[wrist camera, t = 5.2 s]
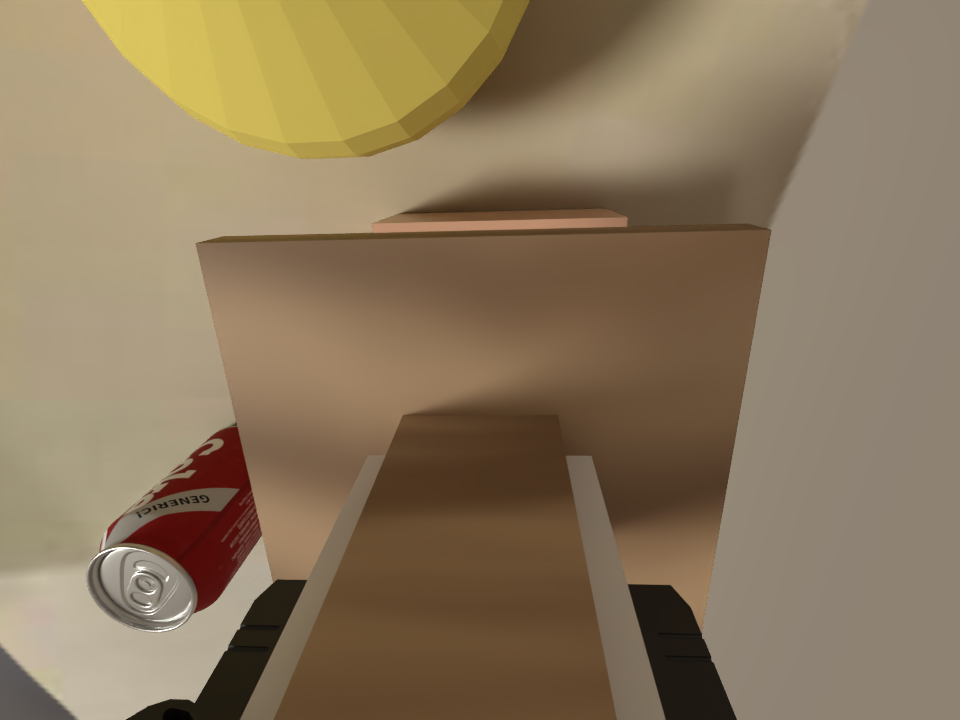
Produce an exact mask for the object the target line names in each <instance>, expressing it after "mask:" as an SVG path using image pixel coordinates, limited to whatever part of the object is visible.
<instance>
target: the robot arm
mask: <svg viewBox="0 0 960 720" xmlns="http://www.w3.org/2000/svg"><path fill="white" fill-rule="evenodd" d="M385 456H386V455H368V456H367V458H366V460H365V463H364V465H363V467H362V469H361V471H360V473H359V475H358V477H357V479H356V481H355V483H354V485H353V487H352V489H351V491H350V494H349V496H348V498H347V500H346V502H345V504H344V506H343V508H342V510H341V512H340V514H339V516H338V518H337V520H336V522H335V524H334V527H333V529H332V531H331V533H330V535H329V537H328V539H327V541H326V543H325V545H324V547H323V549H322V551H321V553H320V555H319V558H318V560H317V562H316V564H315V566H314V568H313V570H312V572H311V574H310V576H309V578H308V580H283V579H277V580H276V581H275V582H274V583H273V584H272V585H271V586H270V587H268V588H267V589H266V590H265V591H264V592H263V593H262V594H261V595H260V596H259V597H258V598H257V599H256V600H255V601H254V602H253V604H252V606H251V608H250V609H249V611H248V613H247V614H246V616H245V618H244V620H243V621H242V623H241V627H240V630H237V632H236V633H235V635H234V637H233V639H232V640H231V642H230V644H229V645H228V650H227V651H225V652H224V654H223V656H222V657H221V659H220V661H219V663H218V664H217V666H216V668H215V669H214V671H213V673H212V675H211V676H210V678H209V680H208V681H207V683H206V685H205V687H204V688H203V690H202V692H201V693H200V695H199V697H198V699H197V700H196V702H195V703H193V702H191V701H190V700H177V699H170V700H166V701H163V702H160V703H157V704H154V705H151V706H148V707H146V708H145V709H143V710H141V711H140V712H138V713H136V714H135V715H133V716H131V717H130V718H128V719H126V720H274V718H275V715H276V713H277V711H278V708H279V706H280V704H281V701H282V699H283V697H284V694H285V692H286V689H287V687H288V685H289V682H290V680H291V678H292V675H293V673H294V671H295V668H296V666H297V664H298V661H299V659H300V656H301V654H302V652H303V649H304V647H305V645H306V642H307V640H308V638H309V635H310V633H311V630H312V628H313V626H314V623H315V621H316V619H317V616H318V614H319V612H320V609H321V607H322V605H323V602H324V600H325V597H326V595H327V593H328V590H329V588H330V586H331V583H332V581H333V579H334V576H335V574H336V572H337V569H338V567H339V564H340V562H341V560H342V557H343V555H344V553H345V550H346V548H347V546H348V543H349V541H350V538H351V536H352V534H353V531H354V529H355V527H356V524H357V522H358V520H359V517H360V515H361V513H362V510H363V508H364V505H365V503H366V501H367V498H368V496H369V494H370V491H371V489H372V487H373V484H374V482H375V479H376V477H377V475H378V472H379V470H380V468H381V465H382V463H383V461H384V458H385ZM566 460H567V465H568V470H569V475H570V481H571V486H572V491H573V496H574V501H575V506H576V512H577V517H578V522H579V527H580V532H581V537H582V543H583V548H584V553H585V558H586V563H587V568H588V573H589V579H590V584H591V589H592V594H593V599H594V604H595V610H596V615H597V620H598V625H599V630H600V635H601V641H602V646H603V651H604V656H605V661H606V666H607V671H608V677H609V682H610V687H611V692H612V697H613V702H614V708H615V713H616V718H617V720H737V719H736V716H735V714H734V712H733V709H732V707H731V704H730V702H729V699H728V697H727V694H726V692H725V690H724V687H723V685H722V683H721V680H720V677H719V675H718V673H717V670H716V668H715V665H714V663H713V662H712V661H711V655H710V653H709V651H708V648H707V645H706V643H705V641H704V639H702V633H701V631H700V628H699V626H698V624H697V621H696V619H695V616H694V614H693V611H692V609H691V607H690V606H689V605H688V604H687V603H686V601H685V600H684V599H683V598H682V597H681V596H680V595H679V594H678V593H677V591H676V590H675V589H674V588H673V587H672V586H671V585H648V584H627V580H626V577H625V573H624V570H623V566H622V563H621V559H620V556H619V552H618V548H617V545H616V541H615V538H614V534H613V531H612V527H611V523H610V520H609V516H608V513H607V509H606V506H605V502H604V499H603V495H602V491H601V488H600V484H599V481H598V477H597V474H596V470H595V467H594V463H593V459H592V456H566Z"/></svg>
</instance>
